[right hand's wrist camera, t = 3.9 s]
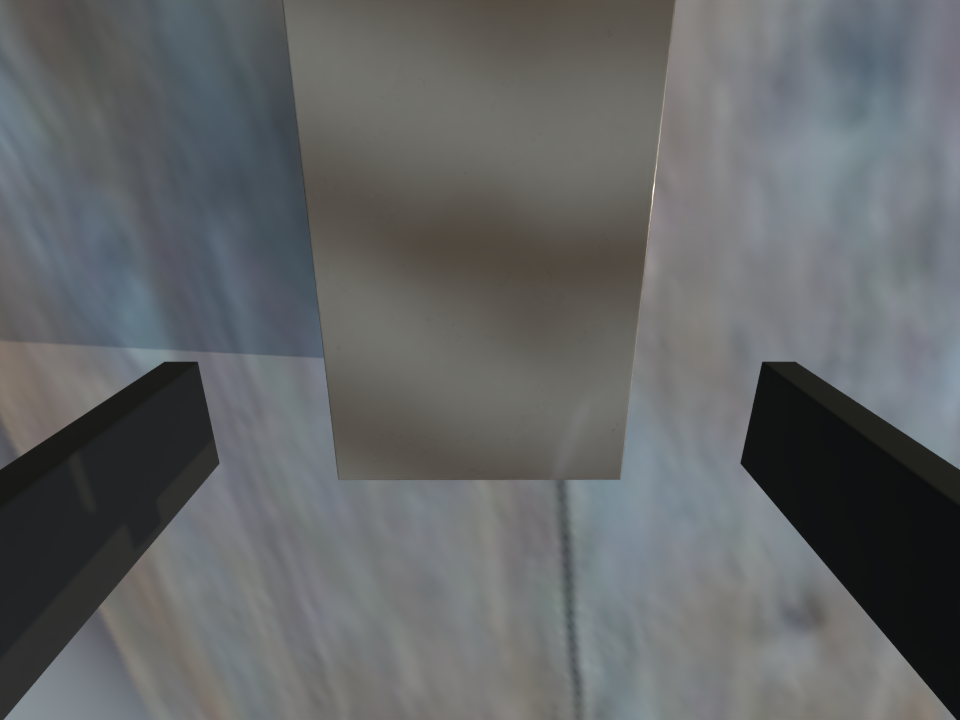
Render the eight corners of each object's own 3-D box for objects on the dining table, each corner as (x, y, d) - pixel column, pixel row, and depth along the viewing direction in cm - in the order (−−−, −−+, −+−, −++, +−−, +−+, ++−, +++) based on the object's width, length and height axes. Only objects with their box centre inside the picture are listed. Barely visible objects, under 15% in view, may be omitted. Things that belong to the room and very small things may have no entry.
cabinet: (364, -12, 23) (262, -161, 12) (594, -12, 23) (695, -162, 12) (389, 362, 29) (337, 480, 18) (569, 362, 29) (621, 480, 18)
